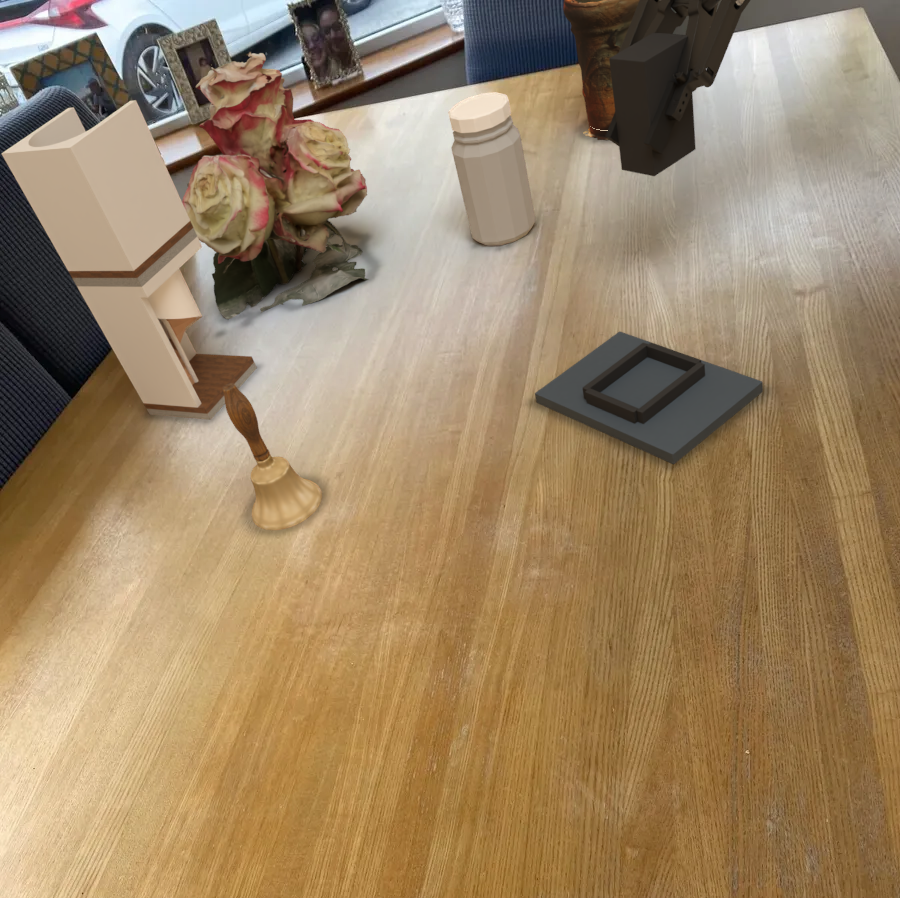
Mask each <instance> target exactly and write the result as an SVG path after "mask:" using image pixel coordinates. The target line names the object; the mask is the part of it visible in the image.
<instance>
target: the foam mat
mask: <svg viewBox="0 0 900 898" xmlns="http://www.w3.org/2000/svg"><path fill="white" fill-rule="evenodd" d="M763 382H764V381H763V380H759V379H756V378H754V377H750V376H749V375H745V374H742V373H739V372H736V371H734V370H731V369H728V368H724V367H723V366H720V365H717V364H714V363H711V362H708V361H706V360H702V359H700V358H697V357H694V356H691V355H688V354H685V353H684V352H683V353H682V352H680V351H678V350H675V349H671V348H669V347H666V346H662V345H660V344H657V343H654V342H651V341H649V340H646V339H642V338H640V337H637V336H634V335H631V334H629V333H626V332H623V331H618V332H617V333H615V334H614V335H612V336H611V337H610V338H609V339H607V340H605V341H604V342H603V343H601V344H600V345H599V346H597V347H596V348H594V349H593V350H592V351H590V352H589V353H588V354H586V355H585V356H584V357H582V358H581V359H580V360H579V361H577V362H576V363H574V364H573V365H572V366H570V367H569V368H567V369H566V370H564V371H563V372H562V373H561V374H559V375H558V376H556V377H555V378H554V379H552V380H551V381H550V382H548V383H547V384H546V385H544V386H543V387H541V388H540V389H538V390H537V391H536V392H534V397H535V401H536V402H535V403H537V404H539V405H541V406H544V407H545V408H548V409H549V410H552V411H555V412H556V413H558V414H561V415H564V416H565V417H566V418H569V419H571V420H574V421H576V422H578V423H581V424H583V425H585V426H587V427H589V428H592V429H594V430H596V431H597V432H601V433H603V434H604V435H607V436H609V437H611V438H614V439H616V440H618V441H621V442H622V443H625V444H627V445H630V446H631V447H634V448H636V449H638V450H641V451H642V452H645V453H647V454H650V455H651V456H654V457H656V458H658V459H660V460H663V461H665V462H667V463H669V464H671V465H675V464H676V463H678V462H679V461H680V460H681V459H683V458H684V457H685V456H686V455H687V454H689V453H690V452H691V451H692V450H694V449H695V448H696V447H697V446H698V445H700V444H701V443H702V442H703V441H704V440H706V439H707V438H708V437H710V436H711V435H712V434H713V433H714V432H716V431H717V430H718V429H719V428H720V427H722V426H723V425H724V424H725V423H727V422H728V421H729V420H730V419H732V418H733V417H734V416H735V415H737V414H738V413H739V412H740V411H741V410H743V409H744V408H745V407H746V406H747V405H748V404H750V403H751V402H752V401H753V400H755V399H756V398H757V397H758V396H759V395H761V394H762V393H763V391H764V389H763V387H764V386H763V385H764V383H763Z"/></svg>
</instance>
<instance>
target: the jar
mask: <svg viewBox="0 0 900 898" xmlns="http://www.w3.org/2000/svg"><path fill="white" fill-rule="evenodd" d="M447 114H448V118H449V122H450V127H451V130H452V131H453V132H452V136H453V139H454V140H453V142H452V145H451V153H452V157H453V161H454V166H455V171H456V174H457V179H458V181H459V187H460V191H461V195H462V199H463V204H464V208H465V213H466V217H467V222H468V225H469V230H470V235H471V239H473V240H475V241H476V242H477V243H480V244H482V245H484V246H487V247H493V246H494V247H495V246H496V247H497V246H503V245H508V244H511V243H514V242H517V241H518V240H520V239H522V238H524V237H525V236H527V235H528V234H529V233H530V231H531V229H532V228H533V227H534V225H535V223H536V221H537V220H536V219H537V218H536V214H535V207H534V202H533V197H532V192H531V187H530V186H531V185H530V181H529V174H528V170H527V169H528V168H527V165H526V164H527V163H526V159H525V153H524V148H523V142H522V137H521V133H520V131H519V128H518V127H517V126H516V125H515V124H514V121H513V118H512V109H511V104H510V99H509V97H508V95H507V94H505V93H501V92H497V91H494V92H492V91H491V92H482V93H479V94H475V95H472V96H469V97H466V98H464V99H462V100H460V101H458V102H456V103H455V104H454V105H453V106H452V107H451V108H450V109H449V110H448V111H447Z"/></svg>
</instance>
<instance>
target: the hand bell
mask: <svg viewBox="0 0 900 898" xmlns="http://www.w3.org/2000/svg"><path fill="white" fill-rule="evenodd" d="M223 392H224V397H225V404H224V406H225V409H226V410H225V411H226V413H227V416H228V417H229V420H230V421H231V423H232V425H233V427H234V428H235V429H236V431H237V432H238V433H239V434H240V435H242V437H243V438H244V439H245V441H246V442H247V445H248V447H249V448H250V451H251V453H252V455H253V458H254V460H255V462H256V465H254V467H253V468H252V470H251V472H250V480H251V483H252V486H253V489H254V493H255V501H254V503H253V505H252V508H251V520H252V522H253V523H254V524H255V525H256V526H257V527H258V528H260V529H263V530H267V531H280V530H281V531H282V530H285V529H289V528H292V527H295V526H297V525H299V524H301V523H303V522H304V521H305V520H307V519H309V517H311V516H312V515H313V514H314V513H315V512H316V511H317V510H318V508H319V507H320V506H321V503H322V500H323V491H322V489H321V488H320V486H319V485H318V484H317V483H316V482H314V481H312V480H310V479H307V478H304V477H301V476H300V475H299V474H298V473H297V472H296V471H295V469H294V468H293V467H292V466H291V464H290V462H289V461H288V460H287V459H286V458H284V457H282V456H272V455H271V453H270V450H269V449H268V447H267V445H266V443H265V442H264V440H263V438H262V435H261V433H260V428H259V422H258V421H259V420H258V417H257V414H256V412H255V409H254V407H253V405H252V403H251V401H250V399H248V398H247V397H246V396H245V394H244V393H243V392H242V391H241V390H240V388H239V389H238V388H237V387H236V386H235V385H234V384H233V383H229V384H227V385H225V386H224V387H223Z"/></svg>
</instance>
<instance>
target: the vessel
mask: <svg viewBox="0 0 900 898" xmlns="http://www.w3.org/2000/svg"><path fill="white" fill-rule="evenodd" d="M639 1H640V0H563V7H562V9H563V14H564V17H565V19H567V21H568V22H569V23H570V26H571V27H570V32H571V33H572V34H573V36H574V40H575V47H576V55H577V61H578V64H579V68H580V73H581V82H582V88H581V89H582V91H581V93H582V97H583V100H584V106H585V111H586V117H587V122H588V129H587V130H586V131H583V132H582V133H583V135H585V136H586V137H590V138H596V139H597V140H606V141H610V140H609V139H608V138H606V137H605V136H606V133H607V131H600V130H608V128H609V126H610V123H611V121H612V118H613V116H614V113H615V107H614V106H615V105H614V96H613V87H612V78H611V69H610V61H609V58H611V57H613V56H614V55H616V54H618V53H619V51H620V48H621V46H622V43H623V41H624V38H625V36H626V33H627V31H628V28H629V26H630V23H631V21H632V18H633V16H634V13H635V11H636V8H637V6H638V3H639ZM590 126H591V127H590ZM592 127H593V128H595V129H593V128H592ZM596 129H600V130H596ZM586 133H587V134H586Z"/></svg>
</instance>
